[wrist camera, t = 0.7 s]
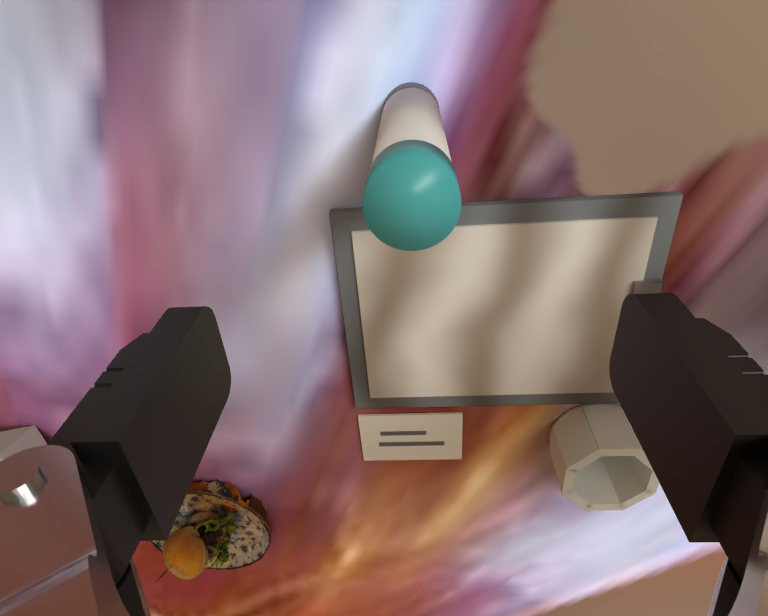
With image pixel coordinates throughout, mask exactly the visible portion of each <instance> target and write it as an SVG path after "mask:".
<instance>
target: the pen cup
mask: <svg viewBox="0 0 768 616" xmlns="http://www.w3.org/2000/svg"><path fill="white" fill-rule="evenodd" d="M549 440H550V448H549V452H550V455H551V459H552V462H553V465H554V469H555V472H556V475H557V479H558V482H559V486H560V489H561V492H562V494H563V495H564V496H565V497H567V498H568V499H570V500H571V501H573V502H574V503H575V504H577V505H578V506H580V507H581V508H582V509H584V510H624V509H626V508H628V507H630V506H632V505H634V504H636V503H638V502H639V501H641V500H643V499H645V498H647V497H649V496H651V495H653V494H655V493H656V490H657V487H658V484H659V481H658V479H657V477H656V475H655V473H654V471H653V469H652V467H651V465H650V463H649V461H648V459H647V457H646V455H645V453H644V451H643V449H642V447H641V445H640V443H639V441H638V439H637V437H636V435H635V433H634V431H633V429H632V427H631V425H630V423H629V421H628V419H627V417H626V415H625V413H624V411H623V409H622V407H621V406H619V405H617V404H613V403H586V404H582V405H579V406H576V407H574V408H572V409H570V410H568V411H566V412H565V413H563V414H562V415H561V416H560V417H559V418H558V419H557V420H556V421H555V422H554V424H553V425H552V427H551V430H550V433H549Z"/></svg>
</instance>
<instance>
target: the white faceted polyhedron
mask: <svg viewBox="0 0 768 616" xmlns="http://www.w3.org/2000/svg"><path fill="white" fill-rule="evenodd" d="M43 445H47V443H46V441H45V440H44V438H43V437H42V435H41V433H40V432H39V430H38V429H37V427H36V426H35V425H32V426H27V427H22V428H16V429H11V430H6V431H1V432H0V461H2V460H4V459H6V458H7V457H9V456H11V455H13V454H16V453H18V452H20V451H23V450H26V449H29V448H33V447H37V446H43Z"/></svg>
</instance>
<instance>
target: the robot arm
mask: <svg viewBox="0 0 768 616" xmlns="http://www.w3.org/2000/svg"><path fill="white" fill-rule="evenodd" d="M609 373H610V381H611V385H612V388H613V391H614V393H615V395H616V397H617V399H618V401H619V403H620V405H621V407H622V409H623V411H624V413H625V415H626V417H627V419H628V421H629V423H630V425H631V427H632V429H633V431H634V433H635V435H636V437H637V439H638V441H639V443H640V445H641V447H642V449H643V451H644V453H645V455H646V457H647V459H648V461H649V463H650V465H651V467H652V469H653V471H654V473H655V475H656V477H657V479H658V481H659V483H660V485H661V487H662V489H663V491H664V493H665V495H666V497H667V499H668V501H669V503H670V505H671V507H672V509H673V511H674V513H675V515H676V517H677V519H678V521H679V522H680V524H681V526H682V528H683V530H684V532H685V534H686V536H687V538H688V540H689V542H720V544H721V546H722V548H723V550H724V551H725V553H726V555H727V557H726V559H725V561H724V563H723V565H722V568H721V571H720V574H719V578H718V581H717V585H716V588H715V592H714V595H713V599H712V602H711V606H710V609H709V613H708V616H768V375H764V374H763V370H762V368H761V367H760V366H759V365H758V364H757V363H756V362H755V361H754V360H753V359H752V358H749V357H748V353H747V352H746V351H745V350H744V349H743V348H742V347H741V345H740V344H739V343H738V342H737V341H736V340H735V339H734V338H733V337H732V336H731V335H730V334H729V333H727V332H725V331H724V330H722V329H721V328H719V327H717V326H716V325H714V324H712V323H711V322H709V321H707V320H706V319H704V318H697V319H696V318H695V317H694V316H693V315H692V314H691V312H690V311H689V310H688V309H687V308H686V306H685V305H684V304H683V303H682V302H681V301H680V299H679V298H678V297H677V296H676V295H675V294H673V293H648V294H629V295H627V296H626V297H625V299H624V301H623V304H622V307H621V312H620V316H619V321H618V325H617V330H616V334H615V339H614V343H613V348H612V352H611V357H610V363H609ZM94 384H95V387H94V388H91V389H90V390H89V391H88V392H87V394H86V395H85V396H84V398H83V399H82V400H81V401H80V403H79V404H78V405H77V407H76V408H75V409H74V411H73V412H72V413H71V414H70V416H69V417H68V418H67V420H66V421H65V422H64V423H63V425H62V426H61V427H60V429H59V430H58V431H57V432H56V434H55V435H54V436H53V438H52V439H51V440H50V441H49V443H48V444H47V445H43V446H37V447H33V448H29V449H26V450H23V451H20V452H18V453H16V454H13V455H11V456H9V457H7V458H6V459H4V460H2V461H0V616H151V615H150V612H149V608H148V605H147V602H146V598H145V595H144V592H143V588H142V585H141V582H140V578H139V575H138V572H137V568H136V566H135V563H134V561H133V560H132V556H133V554H134V552H135V550H136V548H137V546H138V544H139V542H140V541H167V538H168V536H169V534H170V531H171V529H172V527H173V524H174V522H175V520H176V517H177V515H178V513H179V511H180V508H181V506H182V504H183V501H184V499H185V497H186V494H187V492H188V490H189V487H190V485H191V483H192V480H193V478H194V476H195V473H196V471H197V469H198V466H199V464H200V462H201V459H202V457H203V455H204V452H205V450H206V448H207V445H208V443H209V441H210V438H211V436H212V434H213V431H214V429H215V427H216V424H217V422H218V420H219V417H220V415H221V413H222V410H223V408H224V406H225V403H226V401H227V399H228V396H229V392H230V385H231V374H230V367H229V363H228V360H227V356H226V353H225V349H224V346H223V342H222V339H221V335H220V332H219V328H218V325H217V321H216V318H215V315H214V313H213V311H212V309H211V308H209V307H174V308H169V309H167V310H166V311H165V313H164V314H163V315H162V317H161V318H160V319H159V321H158V322H157V324H156V325H155V326H154V328H153V329H152V330H151V332H150V333H143V334H142V335H140V336H139V337H137V338H136V339H135V340H133V341H132V342H131V343H129V344H128V345H126V346H125V347H124V348H122V349H121V350H120V351H119V353H118V354H117V355H116V356H115V358H114V359H113V360H112V362H111V363H110V364H109V365H108V367H107V371H106V372H103V373H102V374H101V376H100V377H99V378H98V380H97V381H96V382H95V383H94Z"/></svg>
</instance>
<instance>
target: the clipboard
mask: <svg viewBox="0 0 768 616" xmlns="http://www.w3.org/2000/svg"><path fill="white" fill-rule="evenodd" d="M682 199H683V195H682V194H681V193H680V192H659V193H639V194H620V195H600V196H581V197H561V198H541V199H522V200H502V201H483V202H463V203H461V212H460V217H459V219H458V222H457V224H456V226H455V228H454V229H453V230H452V232H451V233H450V234H449V235H448V236H447V237H446V238H445V239H444V240H443V241H441V242H440V243H438V244H437V245H435V246H433V247H430V248H427V249H424V250H419V251H404V250H399V249H395V248H393V247H390V246H388V245H386V244H384V243H383V242H382V241H380V240H379V239H378V238H377V237H376V236H375V235H374V234H373V233H372V232H371V230H370V229H369V227H368V225H367V223H366V221H365V218H364V214H363V208H345V209H331V210H330V213H329V214H330V221H331V228H332V236H333V243H334V251H335V258H336V265H337V273H338V280H339V288H340V295H341V302H342V310H343V317H344V325H345V332H346V339H347V347H348V354H349V361H350V369H351V376H352V384H353V391H354V398H355V406H356V409H357V408H403V407H448V406H493V405H539V404H584V403H619V401H618V399H617V397H616V395H615V393H614V391H613V388H612V385H611V381H610V373H609V363H610V357H611V352H612V348H613V343H614V339H615V334H616V330H617V325H618V321H619V316H620V312H621V307H622V304H623V301H624V299H625V297H626V296H627V295H629V294H648V293H661V289H662V285H663V282H662V277H663V273H664V269H665V266H666V262H667V258H668V254H669V250H670V246H671V242H672V238H673V234H674V230H675V226H676V222H677V218H678V214H679V210H680V206H681V202H682Z"/></svg>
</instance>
